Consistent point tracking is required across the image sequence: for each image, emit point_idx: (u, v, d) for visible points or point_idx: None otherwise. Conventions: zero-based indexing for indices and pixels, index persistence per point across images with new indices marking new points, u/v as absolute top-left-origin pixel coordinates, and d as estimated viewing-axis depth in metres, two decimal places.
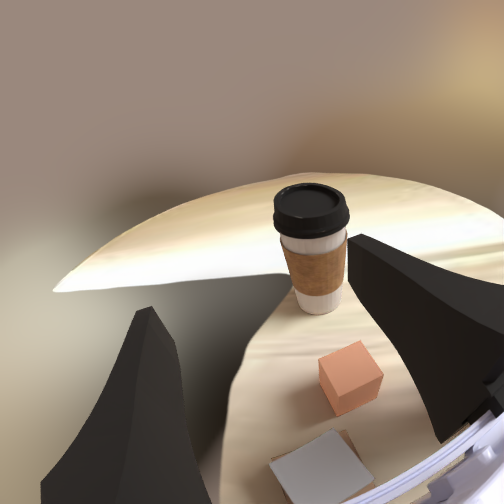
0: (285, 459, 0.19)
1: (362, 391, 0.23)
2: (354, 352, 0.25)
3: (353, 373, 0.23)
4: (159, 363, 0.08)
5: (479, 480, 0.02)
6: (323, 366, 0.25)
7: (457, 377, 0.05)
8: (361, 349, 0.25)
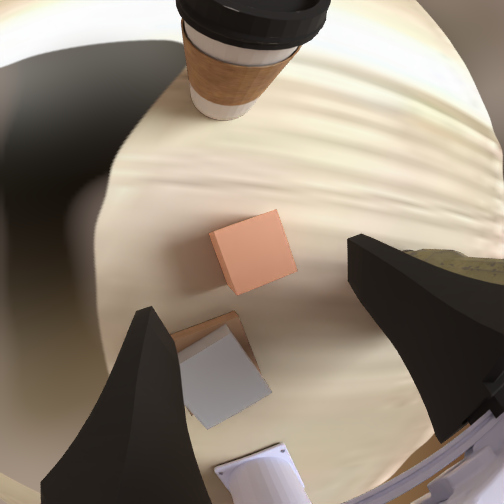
0: None
1: None
2: (265, 228, 0.20)
3: (259, 263, 0.20)
4: (159, 363, 0.08)
5: (479, 480, 0.02)
6: (220, 245, 0.19)
7: (457, 377, 0.05)
8: (276, 225, 0.20)
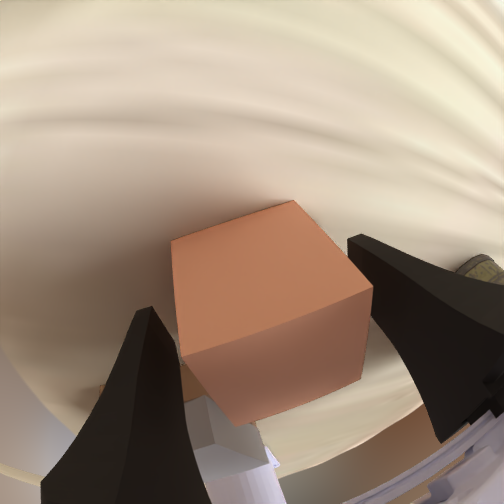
0: None
1: None
2: (328, 332, 0.07)
3: (292, 388, 0.08)
4: (159, 363, 0.08)
5: (479, 480, 0.02)
6: (200, 377, 0.06)
7: (457, 377, 0.05)
8: (356, 321, 0.07)
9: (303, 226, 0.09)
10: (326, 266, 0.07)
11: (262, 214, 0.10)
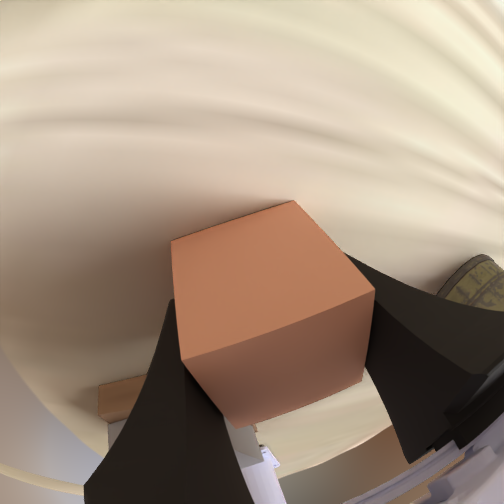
0: None
1: None
2: (330, 335, 0.07)
3: (293, 390, 0.08)
4: None
5: (479, 480, 0.02)
6: (201, 380, 0.06)
7: (419, 403, 0.05)
8: (358, 324, 0.07)
9: (304, 227, 0.09)
10: (328, 268, 0.07)
11: (263, 215, 0.10)
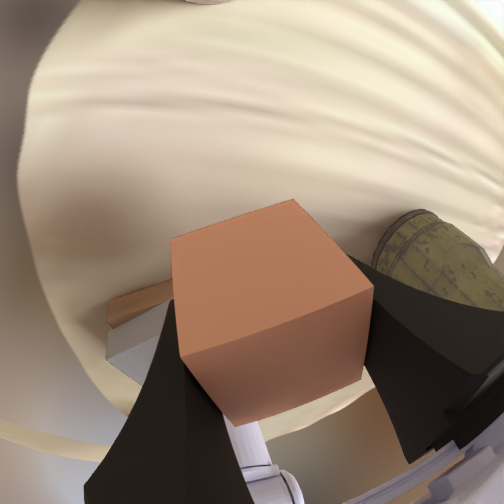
0: (124, 355, 0.16)
1: None
2: (329, 333, 0.07)
3: (292, 389, 0.08)
4: None
5: (479, 480, 0.02)
6: (199, 377, 0.06)
7: (419, 403, 0.05)
8: (357, 321, 0.07)
9: (303, 225, 0.09)
10: (326, 266, 0.07)
11: (262, 213, 0.10)
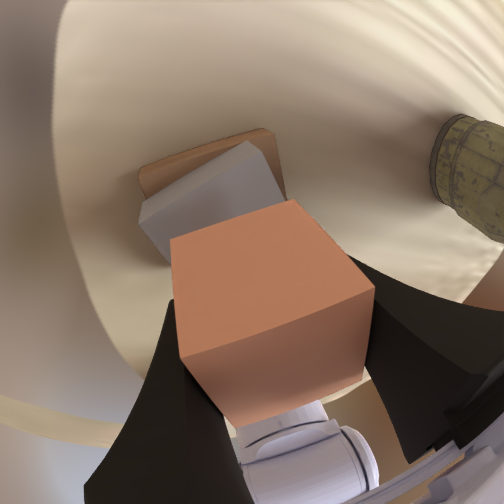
0: (167, 214, 0.12)
1: None
2: (330, 334, 0.07)
3: (293, 389, 0.08)
4: None
5: (479, 480, 0.02)
6: (200, 378, 0.06)
7: (419, 403, 0.05)
8: (357, 322, 0.07)
9: (304, 226, 0.09)
10: (327, 266, 0.07)
11: (262, 213, 0.10)
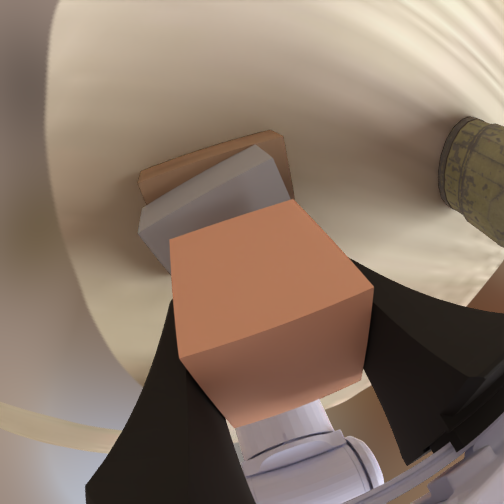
0: (170, 223, 0.11)
1: None
2: (328, 334, 0.07)
3: (291, 389, 0.08)
4: None
5: (479, 480, 0.02)
6: (199, 378, 0.06)
7: (416, 405, 0.05)
8: (356, 322, 0.07)
9: (303, 226, 0.09)
10: (326, 266, 0.07)
11: (262, 213, 0.10)
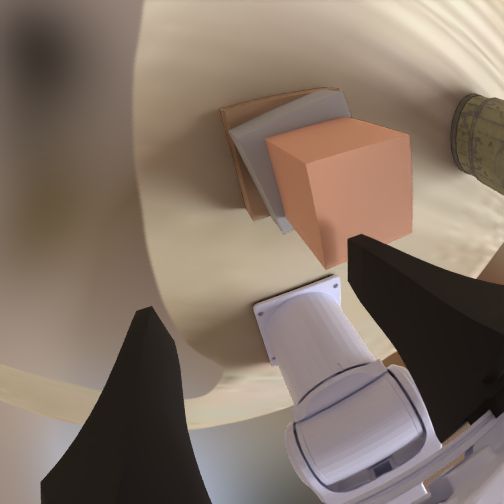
0: (265, 131, 0.13)
1: None
2: (388, 165, 0.10)
3: (368, 221, 0.11)
4: (159, 363, 0.08)
5: (479, 480, 0.02)
6: (313, 189, 0.10)
7: (457, 377, 0.05)
8: (403, 161, 0.10)
9: (357, 123, 0.12)
10: (379, 131, 0.10)
11: (327, 122, 0.13)
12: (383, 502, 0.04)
